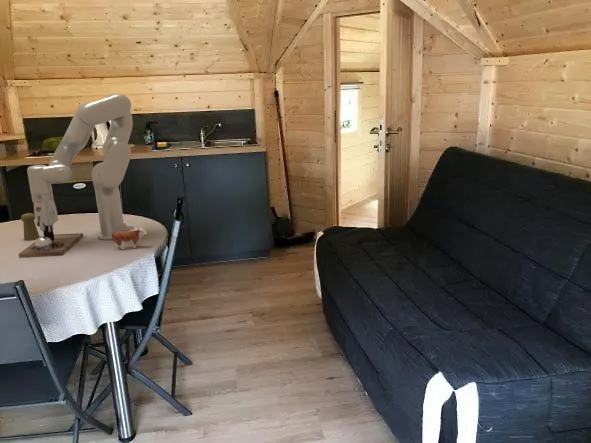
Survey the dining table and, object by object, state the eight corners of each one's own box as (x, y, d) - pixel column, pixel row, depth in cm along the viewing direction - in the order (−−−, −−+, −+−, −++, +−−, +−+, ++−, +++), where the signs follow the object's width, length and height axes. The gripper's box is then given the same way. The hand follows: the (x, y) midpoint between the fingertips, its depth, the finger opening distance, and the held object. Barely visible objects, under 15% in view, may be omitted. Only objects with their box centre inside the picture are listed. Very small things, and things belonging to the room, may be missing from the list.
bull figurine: (148, 248, 193) (145, 228, 191) (112, 250, 192) (110, 231, 189) (149, 244, 197) (147, 225, 195) (115, 247, 196) (112, 227, 193)
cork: (33, 240, 207) (28, 215, 204) (20, 240, 208) (15, 215, 205) (42, 236, 213) (38, 212, 210) (30, 235, 214) (26, 211, 211)
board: (45, 238, 210) (44, 234, 210) (83, 236, 211) (82, 233, 211) (19, 257, 187) (18, 253, 187) (62, 255, 188) (61, 251, 188)
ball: (36, 234, 190) (50, 242, 190) (44, 232, 196) (57, 239, 196) (29, 247, 191) (43, 255, 191) (37, 244, 197) (50, 252, 197)
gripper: (44, 200, 185) (51, 246, 190) (59, 192, 200) (66, 235, 205) (23, 201, 185) (31, 247, 190) (41, 192, 199) (48, 235, 204)
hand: (49, 240), depth 197 cm, fingers closed
